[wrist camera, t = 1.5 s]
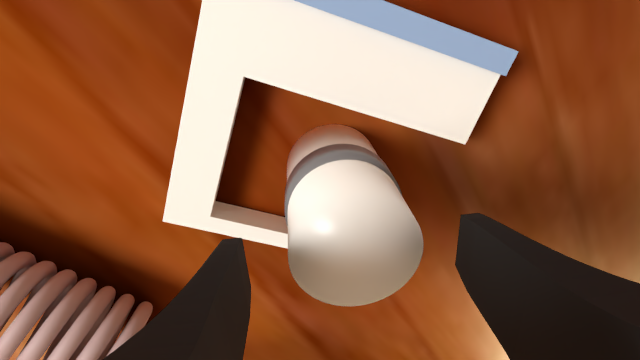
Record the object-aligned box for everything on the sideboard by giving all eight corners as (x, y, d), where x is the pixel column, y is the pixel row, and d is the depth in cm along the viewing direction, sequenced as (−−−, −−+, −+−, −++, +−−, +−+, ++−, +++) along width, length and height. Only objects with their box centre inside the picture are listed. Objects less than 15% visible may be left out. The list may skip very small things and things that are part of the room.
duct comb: (594, -159, 14) (646, -186, 12) (392, 255, 21) (403, 281, 19) (259, -341, 11) (254, -414, 9) (162, 203, 19) (148, 227, 17)
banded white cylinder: (392, 137, 18) (450, 211, 12) (359, 217, 20) (393, 318, 14) (300, 109, 17) (309, 174, 11) (274, 196, 19) (268, 294, 13)
